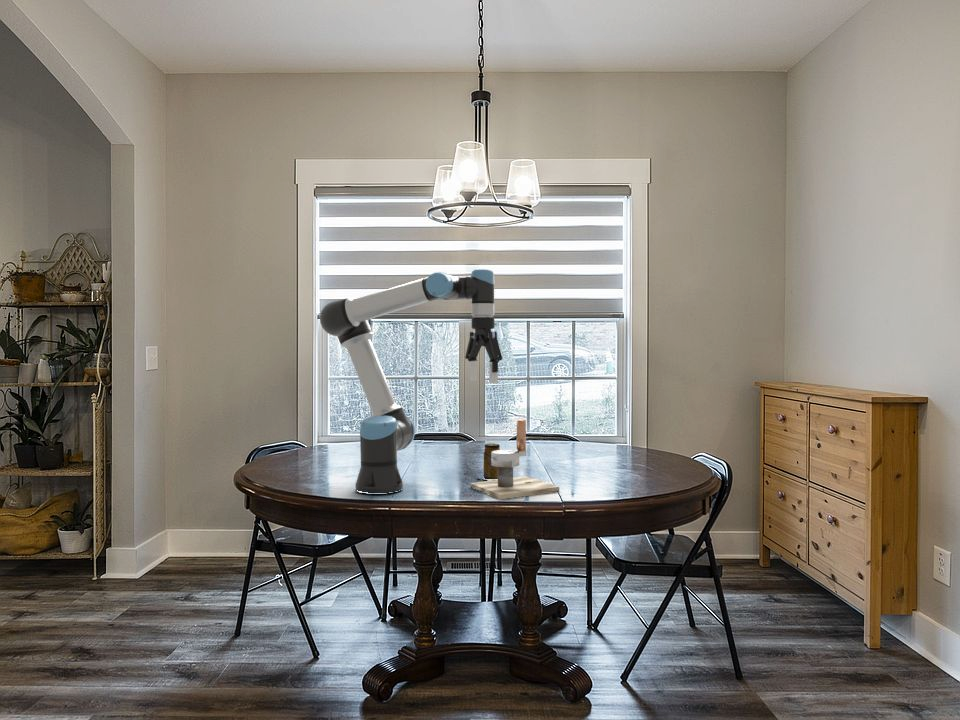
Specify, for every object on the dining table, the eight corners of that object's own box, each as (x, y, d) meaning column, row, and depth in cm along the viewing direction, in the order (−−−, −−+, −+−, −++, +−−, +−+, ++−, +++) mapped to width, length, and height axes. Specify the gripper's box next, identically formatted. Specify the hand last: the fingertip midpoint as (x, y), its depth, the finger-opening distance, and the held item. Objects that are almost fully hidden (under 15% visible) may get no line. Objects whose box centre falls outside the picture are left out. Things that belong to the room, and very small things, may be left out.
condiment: (505, 477, 240) (504, 443, 240) (495, 482, 232) (495, 447, 232) (485, 475, 243) (485, 442, 243) (476, 480, 235) (476, 445, 235)
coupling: (501, 468, 213) (501, 423, 212) (485, 463, 222) (485, 420, 221) (533, 465, 218) (533, 421, 218) (517, 460, 227) (516, 418, 227)
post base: (470, 487, 223) (470, 463, 223) (526, 480, 234) (526, 457, 234) (500, 499, 207) (500, 473, 207) (559, 491, 218) (559, 466, 217)
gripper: (512, 316, 215) (512, 383, 216) (474, 318, 237) (474, 379, 237) (492, 315, 211) (492, 384, 212) (455, 317, 233) (455, 379, 234)
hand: (483, 381), depth 225 cm, fingers open, 13 cm apart
